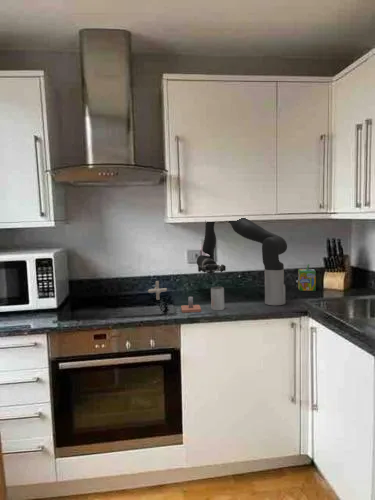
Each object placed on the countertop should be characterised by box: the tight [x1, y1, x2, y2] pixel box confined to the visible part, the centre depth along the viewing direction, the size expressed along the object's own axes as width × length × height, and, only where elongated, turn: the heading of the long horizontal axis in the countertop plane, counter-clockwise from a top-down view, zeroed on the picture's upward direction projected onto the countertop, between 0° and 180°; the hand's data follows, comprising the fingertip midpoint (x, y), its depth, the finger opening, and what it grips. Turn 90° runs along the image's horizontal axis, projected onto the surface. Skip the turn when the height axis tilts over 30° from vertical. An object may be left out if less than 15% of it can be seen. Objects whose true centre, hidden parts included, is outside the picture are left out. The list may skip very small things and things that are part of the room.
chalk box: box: [297, 263, 317, 292], centre depth 215 cm, size 9×9×15 cm
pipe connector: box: [147, 280, 168, 301], centre depth 203 cm, size 10×10×10 cm
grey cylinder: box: [210, 286, 225, 311], centre depth 179 cm, size 6×6×10 cm
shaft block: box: [180, 296, 202, 314], centre depth 178 cm, size 9×9×6 cm
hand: (213, 270), depth 189 cm, fingers open, 8 cm apart
